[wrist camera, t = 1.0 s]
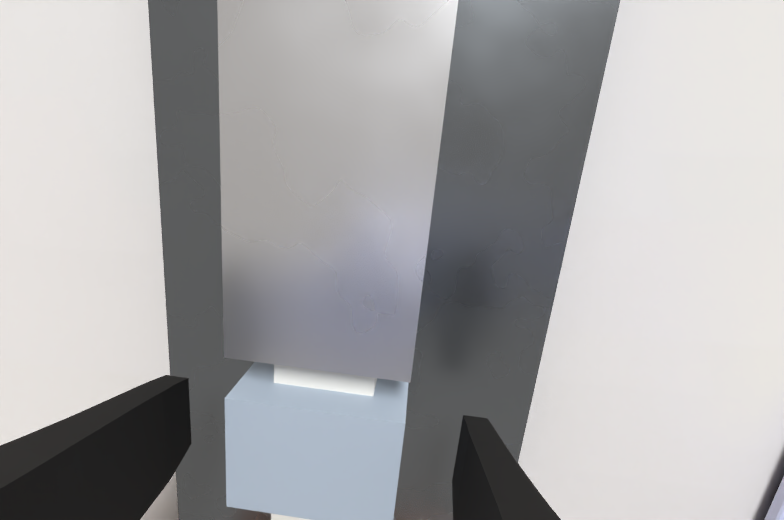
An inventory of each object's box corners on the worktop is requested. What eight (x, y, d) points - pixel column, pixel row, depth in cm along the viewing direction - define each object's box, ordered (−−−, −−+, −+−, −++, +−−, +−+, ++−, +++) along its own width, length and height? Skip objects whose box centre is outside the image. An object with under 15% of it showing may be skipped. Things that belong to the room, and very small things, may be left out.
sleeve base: (619, -70, 10) (802, -281, 5) (461, 677, 17) (474, 879, 12) (166, -100, 11) (-50, -312, 6) (200, 632, 18) (117, 806, 13)
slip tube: (449, 33, 10) (462, -38, 6) (388, 536, 14) (375, 663, 10) (290, 19, 10) (216, -55, 6) (277, 519, 14) (229, 638, 11)
